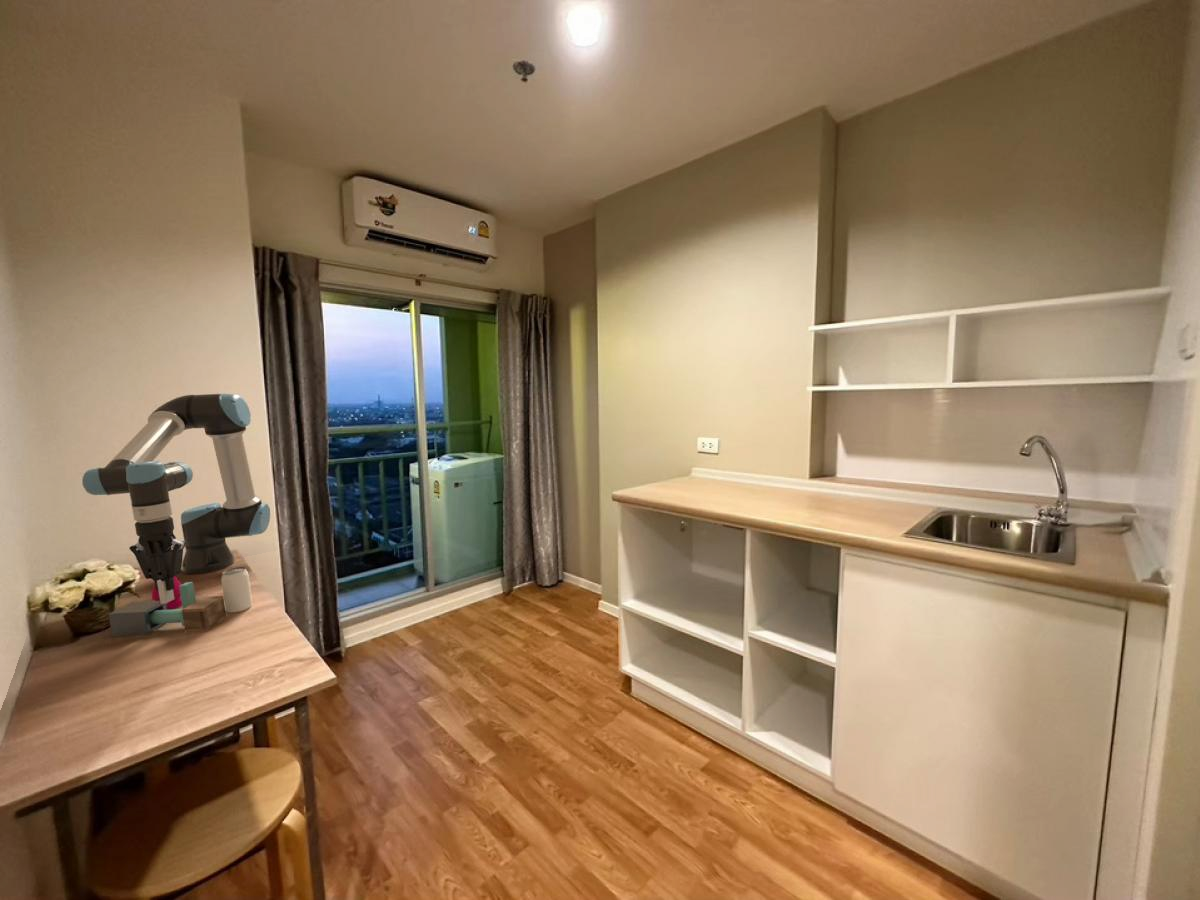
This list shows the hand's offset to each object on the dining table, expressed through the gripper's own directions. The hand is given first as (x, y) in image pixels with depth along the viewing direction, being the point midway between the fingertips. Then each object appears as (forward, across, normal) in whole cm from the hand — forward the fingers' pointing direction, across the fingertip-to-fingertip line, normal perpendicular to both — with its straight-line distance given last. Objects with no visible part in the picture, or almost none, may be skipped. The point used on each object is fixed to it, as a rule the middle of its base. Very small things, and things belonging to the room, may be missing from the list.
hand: (167, 601), depth 131 cm
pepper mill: (+8, -11, +14) cm, 19 cm away
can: (+8, +12, +10) cm, 17 cm away
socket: (+8, +9, 0) cm, 12 cm away
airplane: (+6, +3, 0) cm, 7 cm away
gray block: (+8, -8, 0) cm, 11 cm away
